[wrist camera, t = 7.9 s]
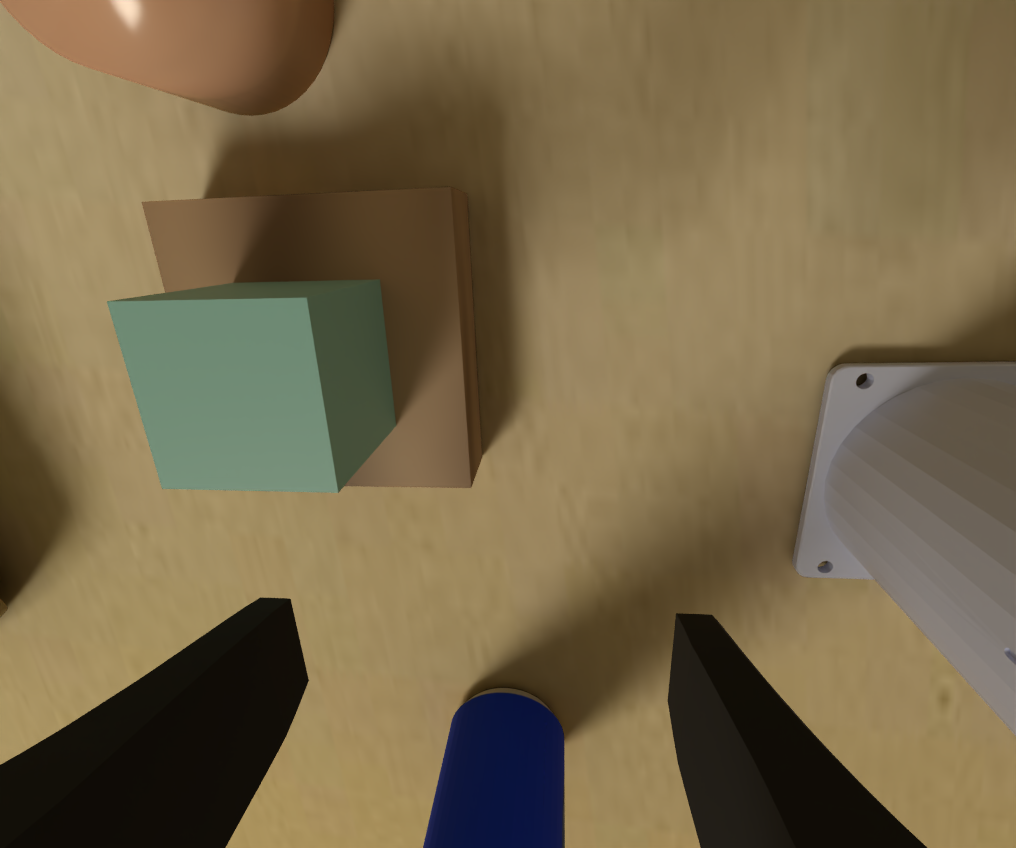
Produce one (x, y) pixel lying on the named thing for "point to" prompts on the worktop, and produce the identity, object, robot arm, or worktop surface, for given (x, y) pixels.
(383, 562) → the worktop surface
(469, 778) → the beverage can
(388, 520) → the worktop surface
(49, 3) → the rounded knob
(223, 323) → the cube
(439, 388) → the base
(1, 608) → the plant pot
